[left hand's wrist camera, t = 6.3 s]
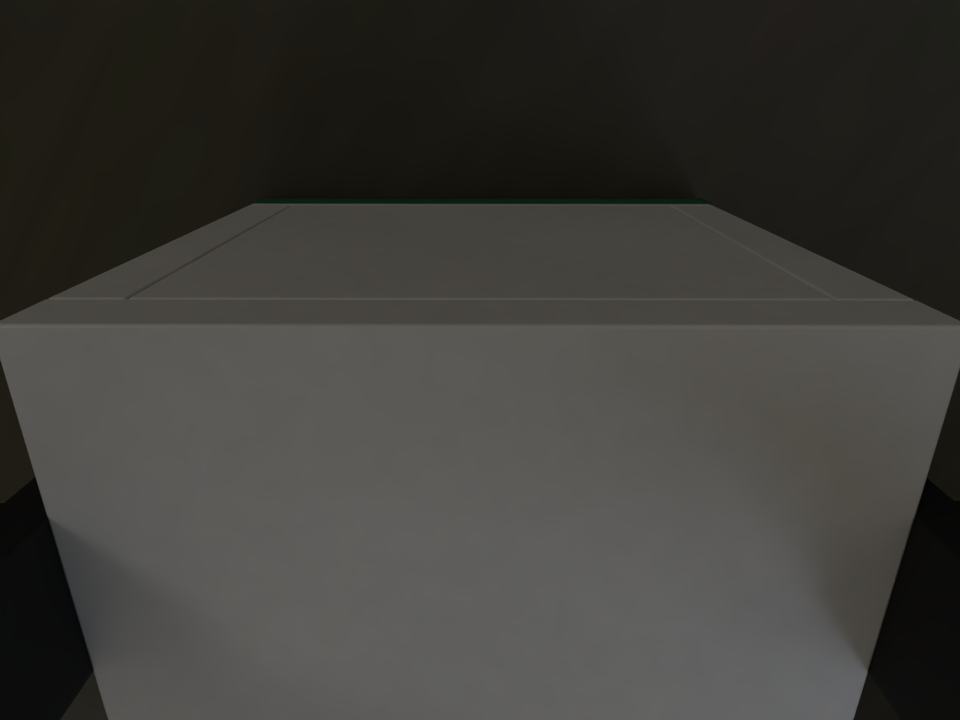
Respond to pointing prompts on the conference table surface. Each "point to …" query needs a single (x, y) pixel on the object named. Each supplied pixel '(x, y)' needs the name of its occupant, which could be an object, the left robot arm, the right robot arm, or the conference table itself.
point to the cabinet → (480, 463)
